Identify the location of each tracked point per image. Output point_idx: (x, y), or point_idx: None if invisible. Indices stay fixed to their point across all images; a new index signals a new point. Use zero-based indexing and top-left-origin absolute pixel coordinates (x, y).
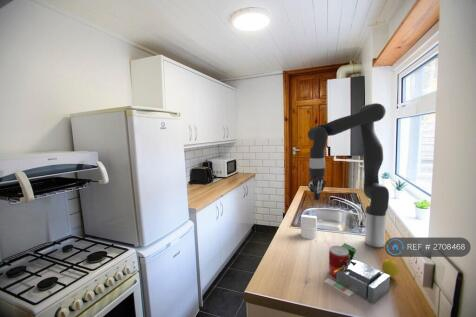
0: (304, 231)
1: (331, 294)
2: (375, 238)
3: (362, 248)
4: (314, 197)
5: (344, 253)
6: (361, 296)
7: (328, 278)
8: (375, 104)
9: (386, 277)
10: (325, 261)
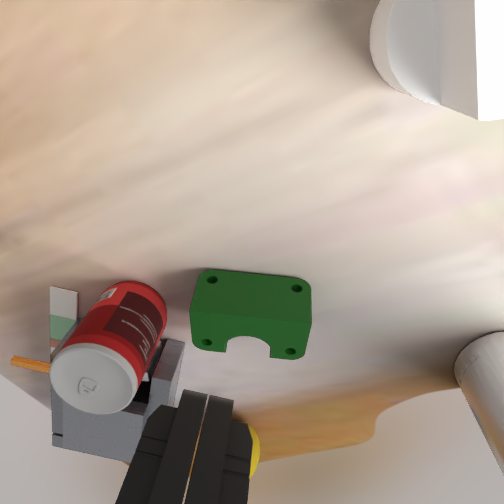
0: (383, 19)
1: (14, 321)
2: (471, 406)
3: (412, 334)
4: (143, 436)
5: (89, 401)
6: None
7: (74, 294)
8: None
9: None
10: (180, 244)
